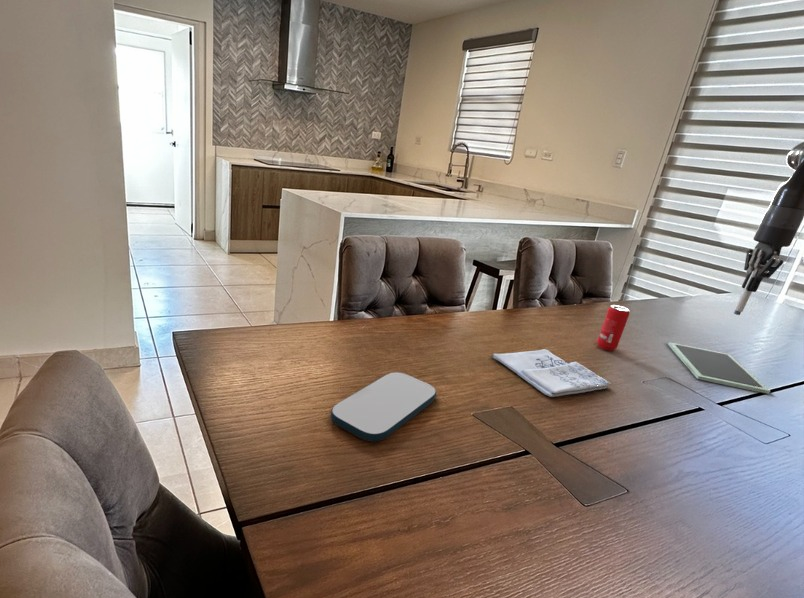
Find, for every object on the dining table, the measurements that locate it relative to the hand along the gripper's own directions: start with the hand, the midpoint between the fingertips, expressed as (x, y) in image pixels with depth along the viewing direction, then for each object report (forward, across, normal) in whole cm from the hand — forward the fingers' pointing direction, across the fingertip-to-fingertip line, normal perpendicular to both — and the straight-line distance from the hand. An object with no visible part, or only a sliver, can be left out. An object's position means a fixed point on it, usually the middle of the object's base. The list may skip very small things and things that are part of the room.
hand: (748, 289), depth 125 cm
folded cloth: (+22, -35, +49) cm, 64 cm away
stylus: (+7, 0, 0) cm, 7 cm away
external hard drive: (+22, -68, +82) cm, 108 cm away
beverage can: (+21, -9, +31) cm, 39 cm away
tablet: (+21, -7, +3) cm, 22 cm away
